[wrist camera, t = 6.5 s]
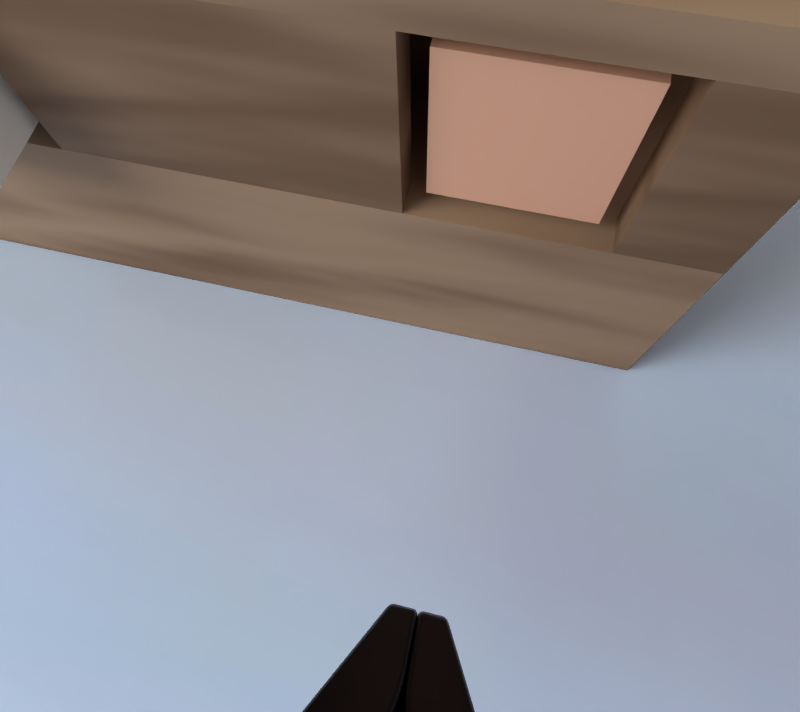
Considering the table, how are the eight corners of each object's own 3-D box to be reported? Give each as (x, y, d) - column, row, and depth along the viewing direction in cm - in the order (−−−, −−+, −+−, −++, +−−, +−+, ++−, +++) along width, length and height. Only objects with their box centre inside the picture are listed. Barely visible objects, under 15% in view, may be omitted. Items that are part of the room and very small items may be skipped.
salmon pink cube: (599, 224, 13) (670, 84, 9) (426, 192, 14) (430, 46, 10) (617, 90, 15) (686, -78, 11) (460, 66, 15) (475, -105, 11)
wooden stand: (627, 370, 19) (984, 15, 7) (-22, 234, 22) (-568, -196, 10) (646, 197, 22) (938, -288, 10) (59, 93, 24) (-298, -393, 12)
